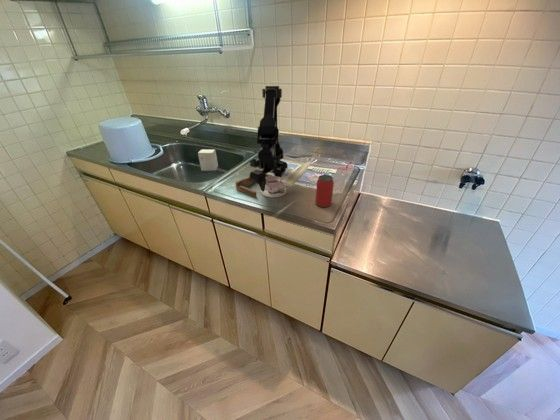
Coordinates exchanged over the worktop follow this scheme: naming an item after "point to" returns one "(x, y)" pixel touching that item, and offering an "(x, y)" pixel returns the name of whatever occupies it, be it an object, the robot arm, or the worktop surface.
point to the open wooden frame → (245, 182)
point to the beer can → (324, 190)
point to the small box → (208, 160)
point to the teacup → (272, 186)
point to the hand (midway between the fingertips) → (270, 187)
